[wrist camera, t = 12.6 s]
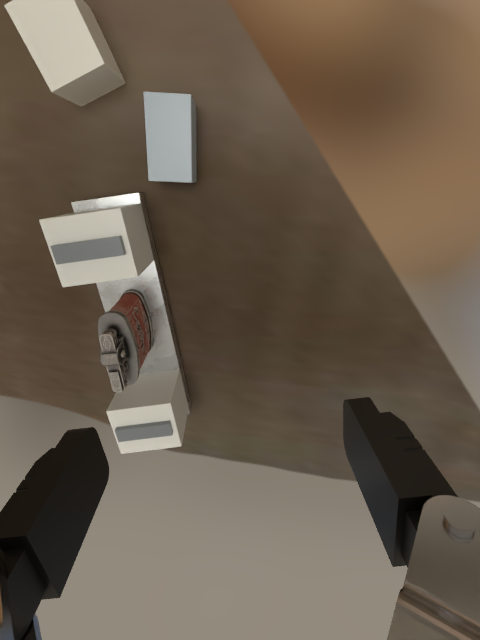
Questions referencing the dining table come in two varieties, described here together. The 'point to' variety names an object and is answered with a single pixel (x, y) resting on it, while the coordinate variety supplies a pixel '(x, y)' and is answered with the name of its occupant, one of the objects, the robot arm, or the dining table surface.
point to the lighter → (125, 338)
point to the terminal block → (170, 137)
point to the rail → (153, 290)
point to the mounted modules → (107, 265)
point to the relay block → (67, 48)
